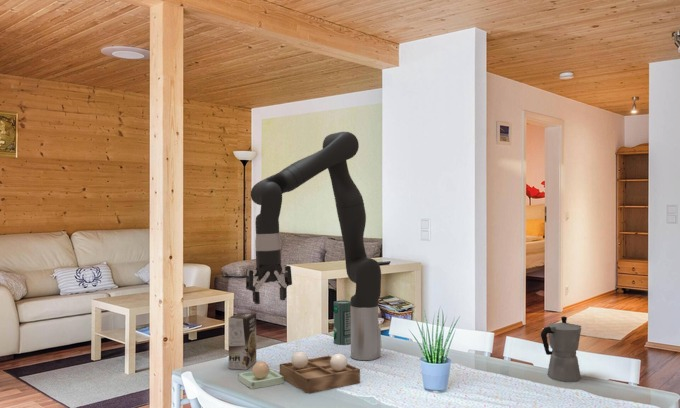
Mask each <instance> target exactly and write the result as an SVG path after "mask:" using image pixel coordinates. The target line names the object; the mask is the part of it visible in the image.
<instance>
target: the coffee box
mask: <svg viewBox="0 0 680 408" xmlns="http://www.w3.org/2000/svg"><path fill="white" fill-rule="evenodd" d="M227 339H228V369H230V370H231V369H232V370H242V371H246V370H248V369H250V368H251V367H253V366H254V364H255V363H257V313H256V312H238V313H236V314H233V315H232V316H229V317H228V338H227Z"/></svg>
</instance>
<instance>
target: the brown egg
mask: <svg viewBox="0 0 680 408" xmlns="http://www.w3.org/2000/svg"><path fill="white" fill-rule="evenodd" d="M270 369H271V368H270V366H269V364H268V363H267V362H266V361H262V360H260V361H256V363H255V364H253V365H252V373H253V375H254V376H255V377H256V378H257V379H264V378H266V377H267V376H268V374H269V370H270Z"/></svg>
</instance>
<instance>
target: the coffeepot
mask: <svg viewBox="0 0 680 408" xmlns="http://www.w3.org/2000/svg"><path fill="white" fill-rule="evenodd" d="M560 318H561V322H555V323H550V324H548V325H546V326H545V327H543V328H542V331H541V332H540V337H541V341H542V345H543V348H544V351H545V354H546V355H548V356H550V357H549V358H550V359H549V364H548V369H547V373H546V374H547V377H548V378H550V379H552V380H554V381H558V382H559V381H560V382H566V383H567V382H568V383H572V382H578V381H580V379H581V378H582V376H581V371H580V365H579V359H578V356H577V351H578V350H579V344H580V338H581V332H582V325H579V324H574V323H570V322H567V320H568V317H567V316H564V315H563V316H561V317H560ZM547 335H548V336H547ZM548 340H549V342H548ZM550 349H551V350H552V351H551V350H550Z"/></svg>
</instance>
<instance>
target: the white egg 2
mask: <svg viewBox="0 0 680 408" xmlns="http://www.w3.org/2000/svg"><path fill="white" fill-rule="evenodd" d="M331 357H332V358H331V360H330V365H331V367H332V369H333V370H335V371H342V370H344V369H345V368H346V366H347V364H348V359H347V357H346V356H345V355H344V354H343V353H335V354H333V355H332V356H331Z"/></svg>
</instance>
